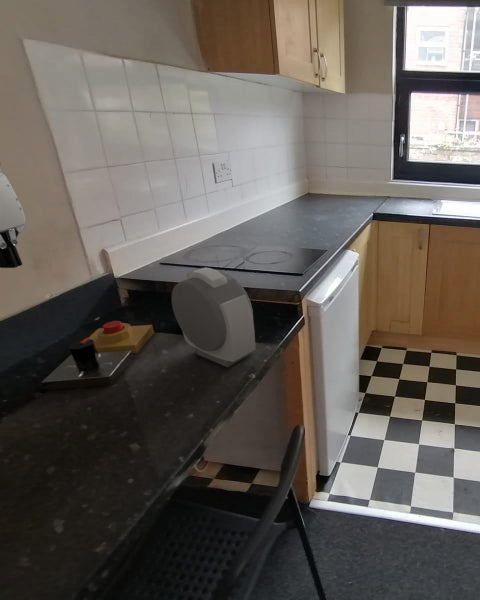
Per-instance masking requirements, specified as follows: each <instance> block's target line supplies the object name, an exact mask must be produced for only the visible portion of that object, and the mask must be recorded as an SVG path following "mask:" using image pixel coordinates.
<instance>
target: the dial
mask: <svg viewBox="0 0 480 600" xmlns="http://www.w3.org/2000/svg"><path fill="white" fill-rule="evenodd" d="M68 348H69V351H70V355H72V356H73V359H74V361H75V364H76V367H77V369H78V370H88V369H92V368H94V367H96V366H98V365H99V364H100V363H101V361H100V358H99V355H98V352H97V349H96V347H95V344H94V341H93V340H91V339H89V337H85V338H84V339H79V340H77V341H74V342H72V343H71V344H70V345H69V347H68Z"/></svg>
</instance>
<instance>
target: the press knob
mask: <svg viewBox="0 0 480 600" xmlns="http://www.w3.org/2000/svg"><path fill="white" fill-rule="evenodd" d="M122 323H123V322H122V321H121V320H111V321H109V322H106V323H104V324H103V325H102V328H103V329H104V332H105V334H113V333H117V332H120V331H122V330H123V326H122Z"/></svg>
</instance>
